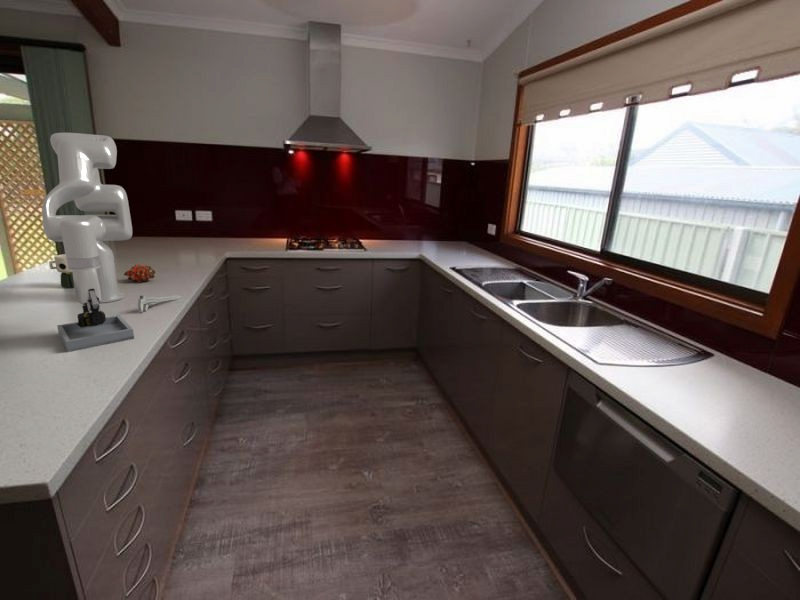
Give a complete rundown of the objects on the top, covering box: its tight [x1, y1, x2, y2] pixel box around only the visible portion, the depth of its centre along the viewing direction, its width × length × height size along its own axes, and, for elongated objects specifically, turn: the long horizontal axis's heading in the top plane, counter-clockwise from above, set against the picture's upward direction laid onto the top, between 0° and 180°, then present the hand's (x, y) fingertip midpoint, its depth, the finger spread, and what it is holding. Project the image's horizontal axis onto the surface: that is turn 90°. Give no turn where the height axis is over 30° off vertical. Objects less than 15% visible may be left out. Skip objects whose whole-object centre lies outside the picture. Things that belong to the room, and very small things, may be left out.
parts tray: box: [56, 314, 135, 353], centre depth 126 cm, size 16×16×3 cm
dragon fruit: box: [123, 263, 156, 283], centre depth 184 cm, size 8×8×12 cm
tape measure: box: [77, 310, 107, 328], centre depth 124 cm, size 7×7×4 cm
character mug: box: [48, 253, 75, 288], centre depth 170 cm, size 11×7×13 cm, turn 129°
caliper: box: [137, 294, 183, 314], centre depth 156 cm, size 21×1×6 cm, turn 169°
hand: (93, 320), depth 125 cm, fingers closed on tape measure, 7 cm apart
